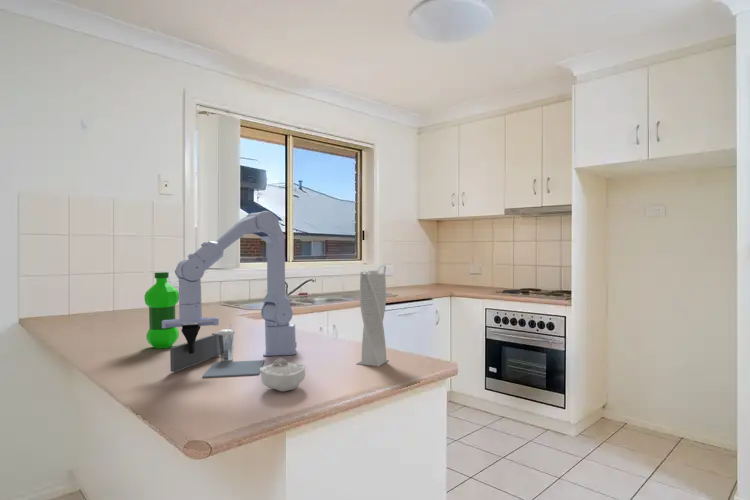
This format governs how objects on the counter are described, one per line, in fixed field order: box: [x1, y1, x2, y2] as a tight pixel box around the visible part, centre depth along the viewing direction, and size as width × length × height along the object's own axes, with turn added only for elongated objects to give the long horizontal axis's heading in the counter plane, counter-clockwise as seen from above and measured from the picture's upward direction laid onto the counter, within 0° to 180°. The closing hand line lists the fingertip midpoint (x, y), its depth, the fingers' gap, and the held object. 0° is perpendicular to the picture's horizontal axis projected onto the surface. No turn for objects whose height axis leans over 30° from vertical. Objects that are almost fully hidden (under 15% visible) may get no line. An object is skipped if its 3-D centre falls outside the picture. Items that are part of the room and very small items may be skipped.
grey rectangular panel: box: [169, 332, 221, 373], centre depth 131 cm, size 2×20×7 cm, turn 163°
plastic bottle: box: [144, 271, 180, 350], centre depth 154 cm, size 10×10×25 cm
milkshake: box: [217, 324, 235, 362], centre depth 135 cm, size 4×5×10 cm
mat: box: [201, 359, 265, 379], centre depth 125 cm, size 14×14×1 cm
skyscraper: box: [356, 264, 390, 368], centre depth 129 cm, size 8×8×28 cm
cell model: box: [260, 357, 306, 392], centre depth 107 cm, size 10×12×7 cm
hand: (191, 352), depth 126 cm, fingers closed
